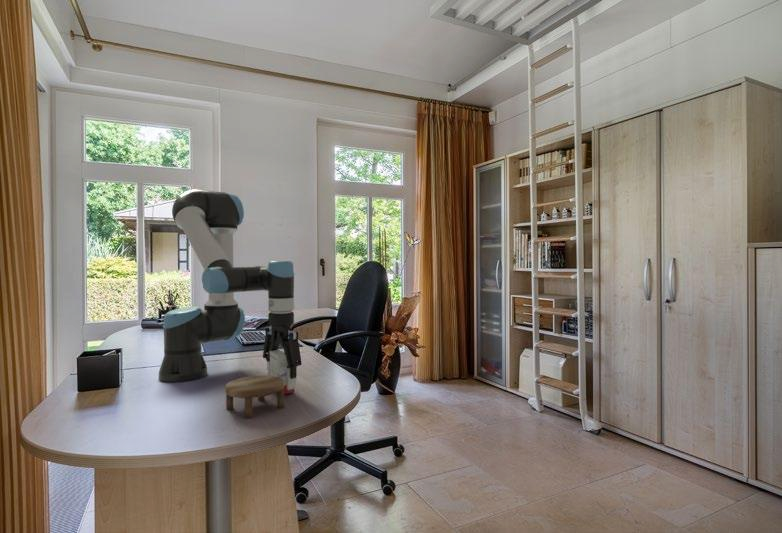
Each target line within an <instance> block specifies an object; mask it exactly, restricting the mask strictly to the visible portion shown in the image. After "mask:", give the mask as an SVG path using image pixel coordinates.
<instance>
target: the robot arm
mask: <svg viewBox="0 0 782 533" xmlns="http://www.w3.org/2000/svg"><path fill="white" fill-rule="evenodd" d="M244 211H245V210H244V206H243V203H242V200H241V199H240V198H239V196H237V195H236V194H233V193H228V192H224V191H223V192H221V191H214V190H213V191H212V190H211V191H210V190H201V189H189V190H186V191H184V192H182V193H181V194H180V195H179V196H177V197H176V199H175V200H174V202H173V204H172V209H171V214H172V219H173V221H174V223H175V225H176V226H177V227H178V228H179V229H180V230H183V233H184V235H185V237H186V238H187V240H188V242H189V244H190V246H191V248H192V249H193V251H194V253H195V255H196V257H197V259H198V260H199V263H200V264H201V266H202V268H203V269H204V270H203V272H202V275H201V283H202V287H203V289H204V291H205V292H206V293H208V299H207V301H205V303H204V306H203V307H204V308H203V309H202V308H201V307H200V306H188V307H187V306H186V307H181V308H176V309H173V310H169V311H167V312H166V313H165V314H164V317H163V325H162V328H163V352H164V353H163V359H162V360H161V365H160V367H159V371H158V380H159V381H161V382H166V383H177V382H187V381H192V380H197V379H200V378H203V377H205V376H207V375H208V366H207V364H206V360H205V358H204V355H203V351H202V344H204V343H206V344H207V343H211V342H217V341H219V342H220V341H228V340H230V339H235V338H238V337H239V336H240V335H241V333H242V332H243V330H244V327H245V322H246V318H245V317H246V316H245V312H244V309H243V308H242V307H241V306H239V302H238V301H237V300H235V298H234V296H235V294H234V293H240V292H241V293H242V292H243V293H245V292H257V291H258V292H259V291H265V292H267V297H268V302H267V303H268V312H269V313H268V315H267V317H268V318H267V319H268V325H269V326H270V327H266V328H265V330H264V331H265V336H264V337H265V338H264V344H263V352H262V358H263V359H265V360H266V362H267V363H266V364H267V369H266V370H267V376H270V351H274V350H279V348H280V346H281V347H282V349H284V352H285V355H286V359H287V362H288V367H287V390H290V389H294V390H295V389H296V388H297V372H298V371H297V367H299V366H301V365H303V364H302V357H301V351H300V344H299V332H298V331H292V330H293V329H292V325H294V323H295V313H294V312H293V311H294V310H295V296H294V294H295V272H294V262H292V261H290V260H270V261H269V262H268V264H267V266H263V265H262V266H261V265H257V266H239V267H237V266H234V234H235V233H236V232H237V231H238V226H240V225H241V224H242V223H243V221H244V220H243V219H244V217H245V214H244V213H245V212H244Z"/></svg>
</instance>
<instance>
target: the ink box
mask: <svg viewBox="0 0 782 533" xmlns="http://www.w3.org/2000/svg"><path fill="white" fill-rule="evenodd" d="M287 367H288V362H287V359H286V355H285V352H284V349H283V348H282V349H278V350H274V351H270V376H276V377H279V378H282V379H283V380H284V395H286V394H291V393H295V392H296V391H295V390H296V389H295V388H294V389H290V390H287Z"/></svg>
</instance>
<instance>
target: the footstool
mask: <svg viewBox="0 0 782 533" xmlns="http://www.w3.org/2000/svg"><path fill="white" fill-rule="evenodd" d="M275 394H277V396H276V400H277V401H276V402H277V403H276V404H277V405H276V406H277V407H276V408H277V409H280V410H281V409H284V408H285V394H284V380H283V379H282V378H279V377H276V376H268V375H252V376H244V377H240V378H237V379H233V380H231V381H229V382H227V383H226V384H225V402H226V403H225V404H226V406H225V407H226V408H225V409H226V410H227V411H232V410H233V409H234V398H236V399H237V398H239V399H244V419H253V398H254V399H256V398H257V401H258V402H263V401H265V397H268V396H272V395H275Z"/></svg>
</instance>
